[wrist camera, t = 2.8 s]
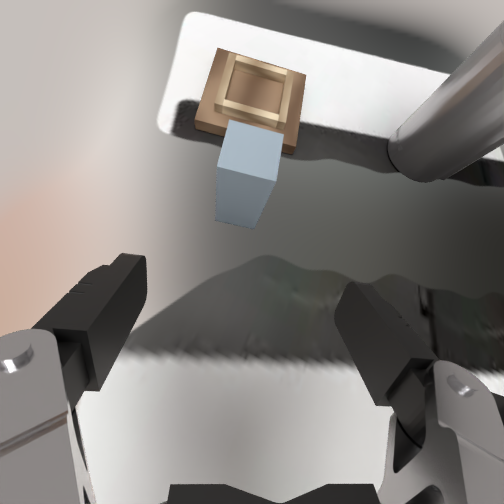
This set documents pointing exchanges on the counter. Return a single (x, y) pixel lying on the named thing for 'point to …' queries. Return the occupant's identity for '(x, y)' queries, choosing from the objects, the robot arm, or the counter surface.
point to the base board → (251, 97)
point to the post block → (246, 173)
